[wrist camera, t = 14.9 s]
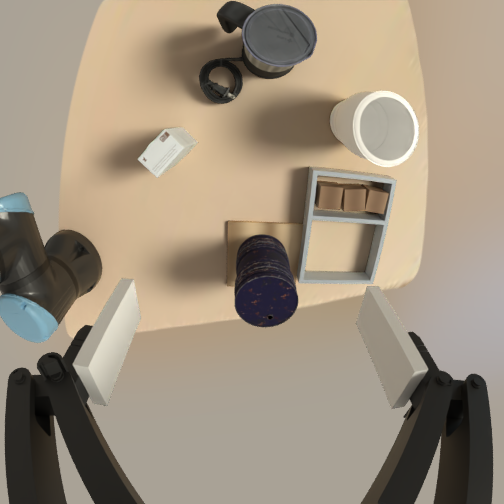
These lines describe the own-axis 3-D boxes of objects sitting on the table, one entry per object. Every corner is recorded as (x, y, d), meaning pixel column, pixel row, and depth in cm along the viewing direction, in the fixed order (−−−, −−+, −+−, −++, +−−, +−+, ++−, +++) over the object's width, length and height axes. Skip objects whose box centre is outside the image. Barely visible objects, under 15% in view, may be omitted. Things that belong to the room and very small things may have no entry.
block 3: (357, 204, 54) (364, 210, 51) (361, 184, 52) (369, 189, 49) (375, 207, 54) (383, 214, 51) (380, 187, 53) (388, 193, 49)
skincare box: (176, 165, 50) (157, 181, 39) (158, 149, 49) (135, 160, 38) (200, 141, 48) (186, 150, 37) (182, 123, 47) (163, 128, 36)
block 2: (337, 204, 54) (343, 211, 51) (338, 183, 52) (344, 189, 49) (357, 203, 54) (364, 210, 51) (358, 183, 52) (366, 189, 49)
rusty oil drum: (230, 239, 56) (226, 282, 43) (281, 228, 55) (293, 268, 42) (243, 283, 61) (242, 332, 47) (290, 273, 60) (302, 321, 46)
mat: (227, 284, 61) (227, 286, 61) (228, 220, 55) (227, 221, 55) (294, 286, 62) (294, 288, 61) (302, 223, 56) (303, 225, 55)
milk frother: (304, 42, 40) (326, 18, 27) (274, 121, 47) (286, 124, 34) (224, 17, 38) (217, -15, 25) (194, 97, 45) (175, 92, 32)
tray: (296, 274, 61) (298, 283, 58) (309, 166, 51) (313, 170, 48) (367, 275, 61) (372, 283, 58) (388, 175, 51) (396, 180, 48)
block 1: (313, 201, 54) (318, 208, 50) (315, 180, 52) (321, 185, 48) (333, 202, 54) (340, 209, 50) (336, 182, 52) (343, 187, 49)
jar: (379, 149, 49) (420, 165, 36) (326, 153, 50) (356, 169, 36) (374, 93, 44) (417, 91, 31) (320, 94, 45) (348, 89, 31)
